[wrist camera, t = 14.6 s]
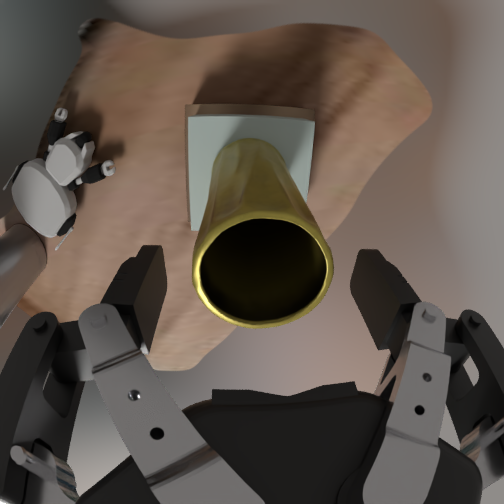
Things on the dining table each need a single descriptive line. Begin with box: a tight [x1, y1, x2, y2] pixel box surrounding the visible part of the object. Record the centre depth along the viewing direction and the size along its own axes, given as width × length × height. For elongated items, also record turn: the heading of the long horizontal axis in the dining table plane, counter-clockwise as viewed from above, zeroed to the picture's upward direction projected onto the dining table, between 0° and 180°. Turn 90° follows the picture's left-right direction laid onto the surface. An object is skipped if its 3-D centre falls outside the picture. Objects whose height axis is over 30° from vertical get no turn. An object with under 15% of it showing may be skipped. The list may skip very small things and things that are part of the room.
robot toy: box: [3, 108, 116, 250], centre depth 27 cm, size 12×4×15 cm
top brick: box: [188, 114, 315, 231], centre depth 24 cm, size 10×10×4 cm
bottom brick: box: [185, 104, 315, 222], centre depth 27 cm, size 12×12×4 cm
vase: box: [192, 138, 334, 328], centre depth 16 cm, size 6×6×14 cm
